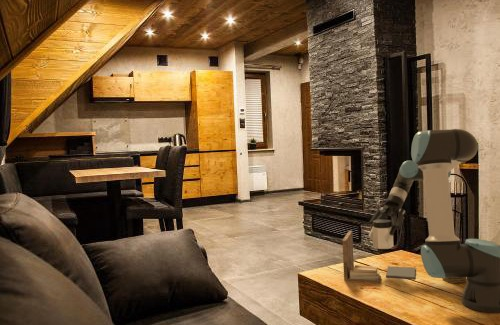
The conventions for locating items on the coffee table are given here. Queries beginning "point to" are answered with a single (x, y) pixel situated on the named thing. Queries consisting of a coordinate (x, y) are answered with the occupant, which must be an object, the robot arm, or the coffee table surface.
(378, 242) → the jar
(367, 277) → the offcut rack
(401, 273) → the rubber mat
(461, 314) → the coffee table surface
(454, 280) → the wooden mug
